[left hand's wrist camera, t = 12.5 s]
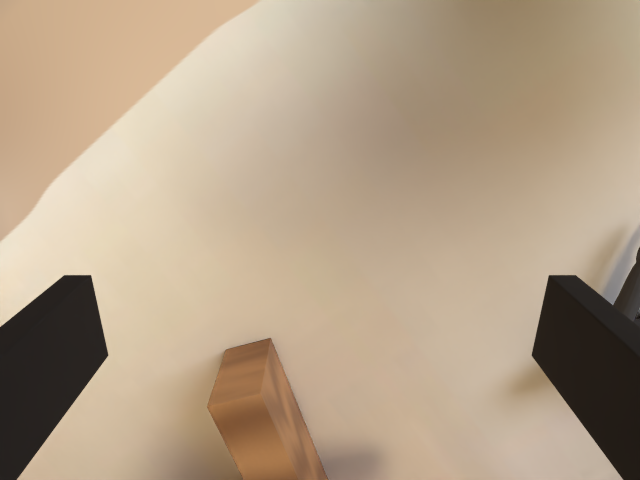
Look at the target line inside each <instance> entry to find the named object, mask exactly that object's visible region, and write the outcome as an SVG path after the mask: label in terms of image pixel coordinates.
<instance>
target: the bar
mask: <svg viewBox="0 0 640 480" xmlns="http://www.w3.org/2000/svg"><path fill="white" fill-rule="evenodd" d="M207 408H208V410H209V412H210V414H211V416H212V418H213V420H214V422H215V424H216V426H217V428H218V430H219V432H220V434H221V436H222V438H223V439H224V441H225V443H226V445H227V447H228V449H229V451H230V453H231V455H232V457H233V459H234V461H235V463H236V465H237V467H238V469H239V471H240V473H241V475H242V477H243V479H244V480H328V479H327V476H326V474H325V471H324V469H323V466H322V464H321V461H320V459H319V457H318V454H317V452H316V449H315V447H314V444H313V442H312V439H311V437H310V434H309V432H308V429H307V427H306V424H305V422H304V420H303V417H302V415H301V412H300V410H299V407H298V405H297V402H296V400H295V397H294V395H293V392H292V390H291V387H290V385H289V382H288V380H287V378H286V375H285V373H284V370H283V368H282V365H281V363H280V360H279V358H278V355H277V353H276V350H275V348H274V345H273V343H272V341H271V338H270V339H266V340H262V341H258V342H254V343H250V344H246V345H242V346H239V347H235V348H231V349H227V350H226V352H225V355H224V358H223V361H222V364H221V367H220V370H219V373H218V376H217V379H216V382H215V385H214V388H213V391H212V394H211V397H210V400H209V403H208V406H207Z"/></svg>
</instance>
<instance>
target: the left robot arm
mask: <svg viewBox="0 0 640 480" xmlns="http://www.w3.org/2000/svg"><path fill="white" fill-rule="evenodd" d="M107 356H108V352H107V347H106V342H105V338H104V333H103V328H102V324H101V319H100V315H99V310H98V305H97V301H96V296H95V291H94V287H93V282H92V277H91V275H64V276H63V277H62V278H60V279H59V280H58V281H57V282H56V283H54V284H53V285H52V286H51V287H49V288H48V289H47V290H46V291H44V292H43V293H42V294H41V295H39V296H38V297H37V298H36V299H34V300H33V301H32V302H31V303H30V304H28V305H27V306H26V307H25V308H23V309H22V310H21V311H20V312H18V313H17V314H16V315H15V316H13V317H12V318H11V319H10V320H9V321H7V322H6V323H5V324H4V325H2V326H1V327H0V480H17V478H18V477H19V476H20V474H21V473H22V472H23V470H24V469H25V468H26V466H27V465H28V464H29V462H30V461H31V460H32V458H33V457H34V455H35V454H36V453H37V451H38V450H39V449H40V447H41V446H42V445H43V443H44V442H45V441H46V439H47V438H48V436H49V435H50V434H51V432H52V431H53V430H54V428H55V427H56V426H57V424H58V423H59V422H60V420H61V419H62V417H63V416H64V415H65V413H66V412H67V411H68V409H69V408H70V407H71V405H72V404H73V403H74V401H75V400H76V399H77V397H78V396H79V394H80V393H81V392H82V390H83V389H84V388H85V386H86V385H87V384H88V382H89V381H90V380H91V378H92V377H93V375H94V374H95V373H96V371H97V370H98V369H99V367H100V366H101V365H102V363H103V362H104V361H105V359H106V358H107ZM532 357H533V358H534V359H535V361H536V362H537V363H538V365H539V366H540V367H541V369H542V370H543V371H544V373H545V374H546V375H547V377H548V378H549V380H550V381H551V382H552V384H553V385H554V386H555V388H556V389H557V390H558V392H559V393H560V394H561V396H562V397H563V399H564V400H565V401H566V403H567V404H568V405H569V407H570V408H571V409H572V411H573V412H574V413H575V415H576V416H577V417H578V419H579V420H580V422H581V423H582V424H583V426H584V427H585V428H586V430H587V431H588V432H589V434H590V435H591V436H592V438H593V439H594V441H595V442H596V443H597V445H598V446H599V447H600V449H601V450H602V451H603V453H604V454H605V455H606V457H607V458H608V460H609V461H610V462H611V464H612V465H613V466H614V468H615V469H616V470H617V472H618V473H619V474H620V476H621V477H622V478H623V480H640V327H639V326H638V325H636V324H635V323H634V322H633V321H631V320H630V319H629V318H628V317H627V316H625V315H624V314H623V313H622V312H620V311H619V310H618V309H617V308H615V307H614V306H613V305H612V304H610V303H609V302H608V301H607V300H606V299H604V298H603V297H602V296H601V295H599V294H598V293H597V292H596V291H594V290H593V289H592V288H591V287H589V286H588V285H587V284H586V283H584V282H583V281H582V280H581V279H580V278H578V277H577V276H576V275H549V277H548V282H547V287H546V291H545V296H544V301H543V305H542V310H541V315H540V319H539V324H538V328H537V333H536V338H535V342H534V347H533V352H532Z"/></svg>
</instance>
